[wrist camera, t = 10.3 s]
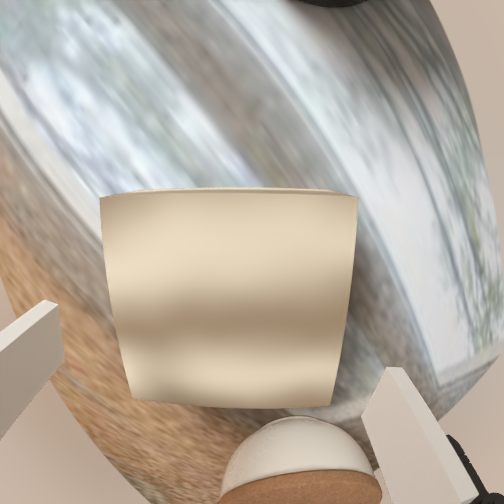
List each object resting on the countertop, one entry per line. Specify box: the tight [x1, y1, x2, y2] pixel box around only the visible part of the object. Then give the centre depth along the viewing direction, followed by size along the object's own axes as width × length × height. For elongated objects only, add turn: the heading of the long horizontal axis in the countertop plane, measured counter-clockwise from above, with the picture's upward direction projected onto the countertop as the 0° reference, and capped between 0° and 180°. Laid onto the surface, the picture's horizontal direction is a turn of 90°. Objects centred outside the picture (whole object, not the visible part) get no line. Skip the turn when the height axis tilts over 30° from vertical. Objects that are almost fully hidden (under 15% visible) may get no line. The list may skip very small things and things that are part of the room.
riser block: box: [100, 188, 358, 409], centre depth 17 cm, size 12×12×6 cm
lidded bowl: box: [218, 416, 382, 504], centre depth 19 cm, size 13×13×11 cm
